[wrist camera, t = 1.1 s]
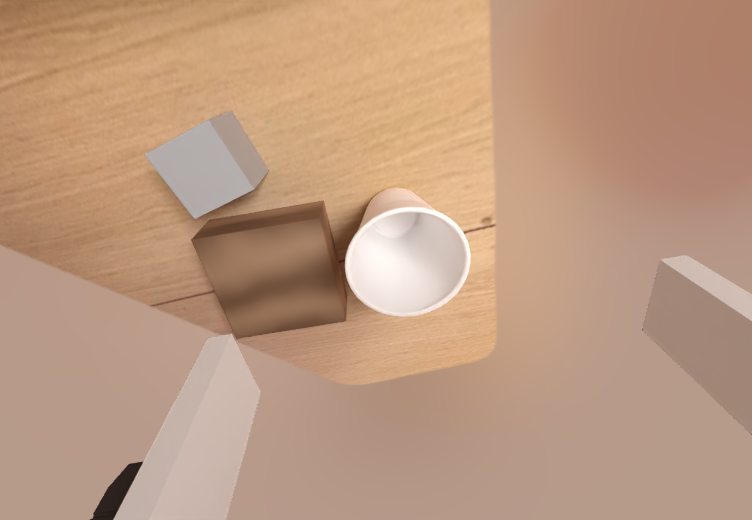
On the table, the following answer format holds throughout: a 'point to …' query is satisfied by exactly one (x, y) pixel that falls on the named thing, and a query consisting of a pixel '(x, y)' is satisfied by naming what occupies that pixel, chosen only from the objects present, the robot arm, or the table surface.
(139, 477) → the robot arm
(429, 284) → the cup
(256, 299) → the walnut block
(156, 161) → the grey cube
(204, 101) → the table surface
